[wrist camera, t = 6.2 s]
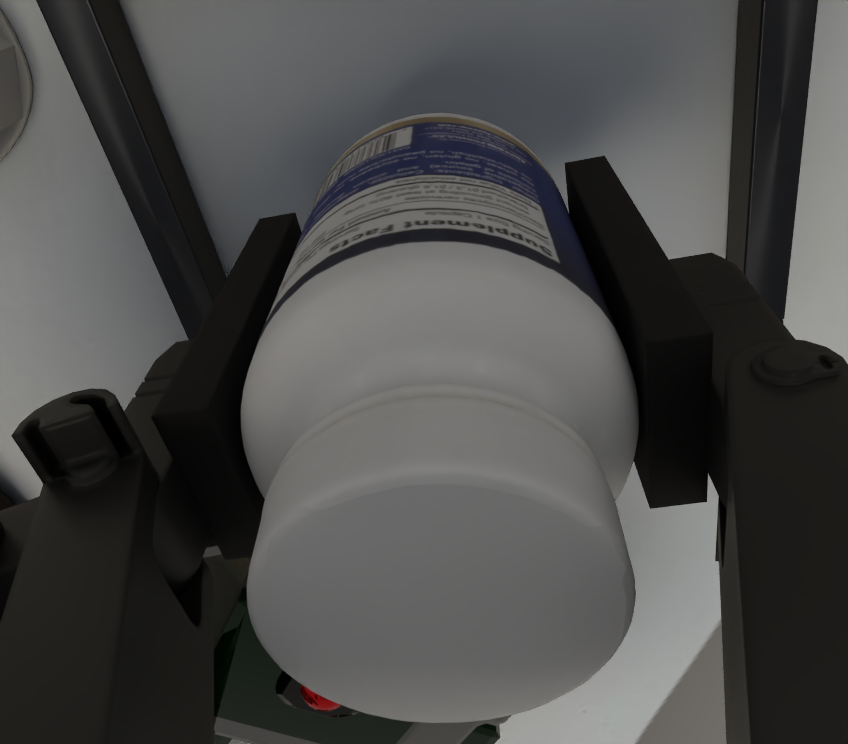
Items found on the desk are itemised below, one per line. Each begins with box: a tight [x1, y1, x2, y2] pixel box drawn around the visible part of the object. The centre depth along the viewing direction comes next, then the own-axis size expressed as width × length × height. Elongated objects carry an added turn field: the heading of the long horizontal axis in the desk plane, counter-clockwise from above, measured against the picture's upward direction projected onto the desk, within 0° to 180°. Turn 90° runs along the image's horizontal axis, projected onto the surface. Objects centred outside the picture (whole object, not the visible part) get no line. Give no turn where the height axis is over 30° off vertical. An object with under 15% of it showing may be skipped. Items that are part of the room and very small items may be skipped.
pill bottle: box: [241, 113, 639, 723], centre depth 11 cm, size 5×5×10 cm
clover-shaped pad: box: [203, 534, 511, 744], centre depth 28 cm, size 18×18×5 cm
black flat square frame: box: [36, 0, 818, 340], centre depth 17 cm, size 17×18×2 cm
